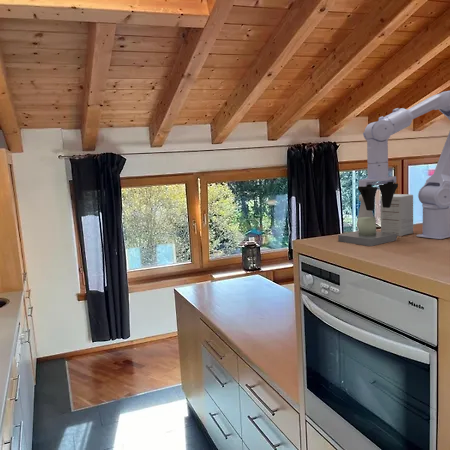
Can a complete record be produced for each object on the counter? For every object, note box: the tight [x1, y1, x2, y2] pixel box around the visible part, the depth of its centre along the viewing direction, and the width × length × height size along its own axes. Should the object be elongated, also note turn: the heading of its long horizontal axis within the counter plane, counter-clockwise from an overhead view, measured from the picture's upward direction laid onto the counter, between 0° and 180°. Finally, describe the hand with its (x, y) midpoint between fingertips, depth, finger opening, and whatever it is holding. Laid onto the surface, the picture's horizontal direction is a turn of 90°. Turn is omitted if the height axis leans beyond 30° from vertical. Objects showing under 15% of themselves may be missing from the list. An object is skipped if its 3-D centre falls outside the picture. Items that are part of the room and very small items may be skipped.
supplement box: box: [380, 193, 414, 237], centre depth 140 cm, size 7×7×13 cm
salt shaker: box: [356, 193, 374, 230], centre depth 147 cm, size 6×6×13 cm
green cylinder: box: [357, 216, 377, 236], centre depth 131 cm, size 5×5×5 cm
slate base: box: [337, 230, 398, 247], centre depth 131 cm, size 12×12×2 cm
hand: (378, 208), depth 129 cm, fingers open, 7 cm apart
